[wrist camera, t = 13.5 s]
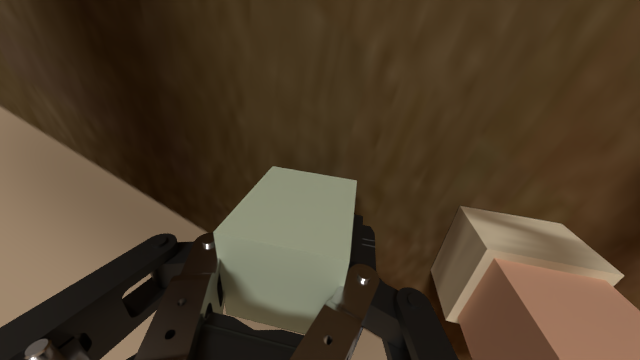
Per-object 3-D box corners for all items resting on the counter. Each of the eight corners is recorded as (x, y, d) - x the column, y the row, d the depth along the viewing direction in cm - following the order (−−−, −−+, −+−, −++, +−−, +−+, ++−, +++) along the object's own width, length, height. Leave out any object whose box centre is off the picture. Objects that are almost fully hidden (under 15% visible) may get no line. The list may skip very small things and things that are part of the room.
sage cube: (272, 231, 16) (226, 314, 11) (272, 166, 14) (213, 232, 8) (343, 245, 15) (331, 341, 10) (356, 180, 13) (349, 261, 8)
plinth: (430, 270, 18) (445, 320, 14) (459, 205, 15) (487, 248, 11) (514, 287, 17) (552, 345, 14) (561, 223, 14) (624, 275, 11)
